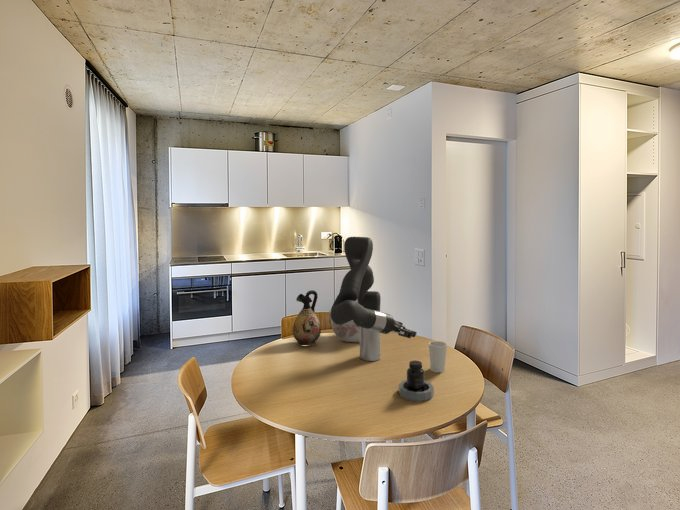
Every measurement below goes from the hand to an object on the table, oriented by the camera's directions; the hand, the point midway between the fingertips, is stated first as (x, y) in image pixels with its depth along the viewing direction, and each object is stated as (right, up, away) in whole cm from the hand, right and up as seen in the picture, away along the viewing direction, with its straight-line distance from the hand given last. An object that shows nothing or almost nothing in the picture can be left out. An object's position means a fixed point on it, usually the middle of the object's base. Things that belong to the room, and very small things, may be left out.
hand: (408, 329), depth 155 cm
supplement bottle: (+3, -24, -1) cm, 25 cm away
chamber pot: (-19, -19, +70) cm, 75 cm away
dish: (+3, -25, -1) cm, 25 cm away
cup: (+17, -23, +23) cm, 36 cm away
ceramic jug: (-44, -20, +62) cm, 79 cm away
